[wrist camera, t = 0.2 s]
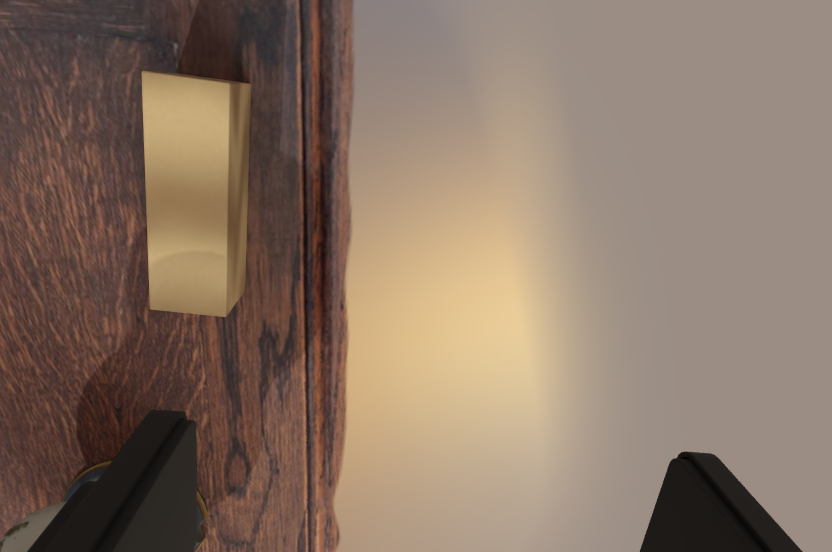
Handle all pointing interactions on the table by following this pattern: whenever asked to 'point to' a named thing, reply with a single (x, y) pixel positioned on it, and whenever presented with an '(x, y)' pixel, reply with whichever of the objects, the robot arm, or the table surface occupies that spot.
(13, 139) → the table surface
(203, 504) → the apothecary jar
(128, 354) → the table surface
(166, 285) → the brass block
